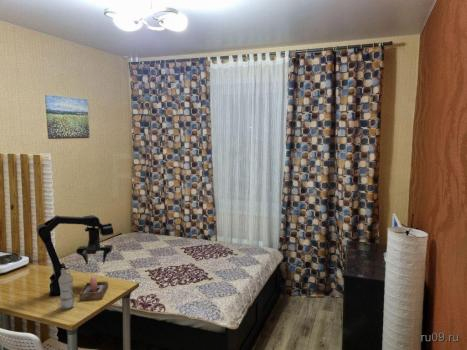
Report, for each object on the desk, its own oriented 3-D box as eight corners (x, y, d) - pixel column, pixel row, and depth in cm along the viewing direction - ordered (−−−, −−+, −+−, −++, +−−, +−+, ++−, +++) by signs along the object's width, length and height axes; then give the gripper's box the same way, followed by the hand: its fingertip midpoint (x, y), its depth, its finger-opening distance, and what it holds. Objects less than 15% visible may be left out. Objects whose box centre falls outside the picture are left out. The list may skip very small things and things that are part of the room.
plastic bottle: (63, 304, 172) (60, 266, 170) (76, 304, 172) (74, 266, 170) (57, 311, 166) (55, 272, 163) (71, 310, 166) (69, 271, 164)
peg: (92, 293, 185) (91, 277, 184) (98, 292, 185) (97, 277, 184) (90, 295, 181) (89, 279, 180) (96, 295, 182) (95, 279, 181)
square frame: (80, 300, 176) (79, 293, 176) (87, 289, 189) (87, 282, 188) (101, 299, 177) (101, 291, 177) (107, 288, 190) (107, 281, 190)
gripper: (72, 242, 184) (73, 270, 186) (107, 241, 187) (109, 268, 189) (78, 236, 195) (80, 262, 197) (112, 235, 198) (113, 261, 200)
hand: (95, 263), depth 195 cm, fingers open, 9 cm apart
